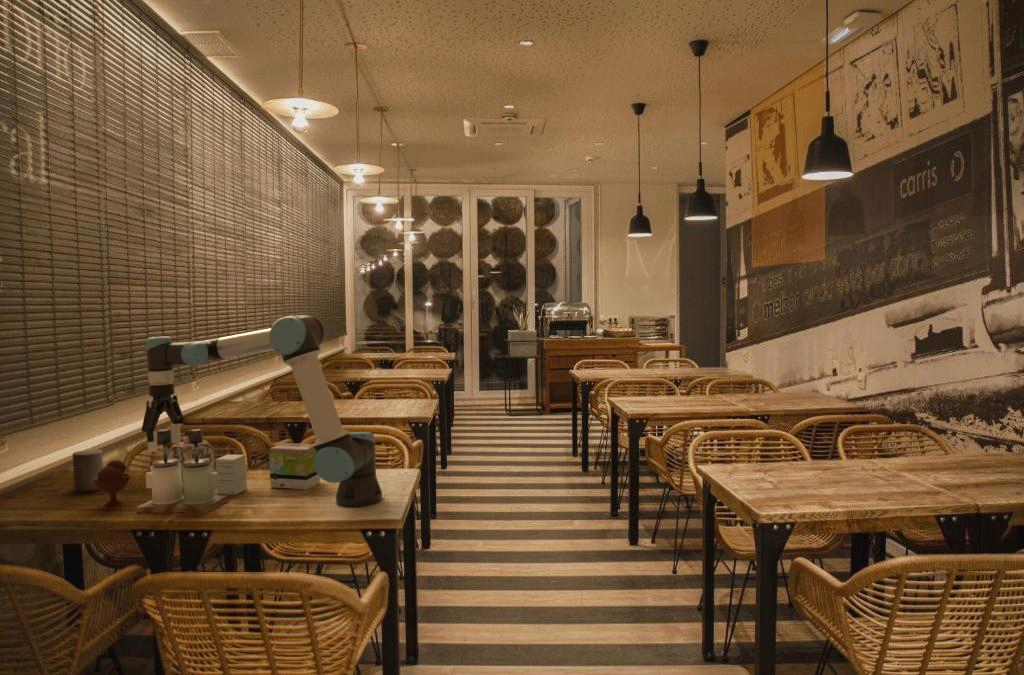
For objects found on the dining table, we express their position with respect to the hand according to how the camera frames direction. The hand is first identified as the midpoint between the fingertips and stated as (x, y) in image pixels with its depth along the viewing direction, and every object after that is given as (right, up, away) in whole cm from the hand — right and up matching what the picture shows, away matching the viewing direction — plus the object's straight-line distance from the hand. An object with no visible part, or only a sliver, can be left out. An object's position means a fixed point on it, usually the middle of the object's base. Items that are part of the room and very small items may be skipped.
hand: (164, 447), depth 242 cm
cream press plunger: (0, -6, 0) cm, 6 cm away
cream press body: (+1, -18, +1) cm, 18 cm away
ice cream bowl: (-20, -20, +5) cm, 29 cm away
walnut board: (+6, -20, +1) cm, 21 cm away
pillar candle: (-41, -20, +28) cm, 53 cm away
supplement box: (+16, -19, +18) cm, 30 cm away
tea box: (+36, -18, +24) cm, 47 cm away
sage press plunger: (+11, -5, -1) cm, 12 cm away
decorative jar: (-3, -19, +29) cm, 34 cm away
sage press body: (+11, -18, 0) cm, 21 cm away
